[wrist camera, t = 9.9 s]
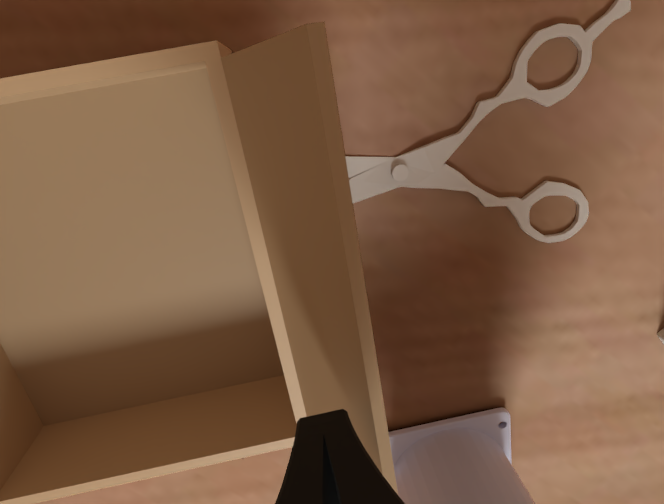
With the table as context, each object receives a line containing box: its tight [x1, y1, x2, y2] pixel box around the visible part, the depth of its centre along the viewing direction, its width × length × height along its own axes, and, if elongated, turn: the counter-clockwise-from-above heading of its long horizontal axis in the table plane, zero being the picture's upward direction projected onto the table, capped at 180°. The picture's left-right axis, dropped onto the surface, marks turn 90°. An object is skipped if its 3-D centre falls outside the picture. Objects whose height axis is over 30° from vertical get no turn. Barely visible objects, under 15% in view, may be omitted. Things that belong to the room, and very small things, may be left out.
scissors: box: [345, 0, 631, 243], centre depth 21 cm, size 11×1×20 cm
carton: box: [0, 40, 307, 504], centre depth 19 cm, size 16×14×5 cm
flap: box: [221, 22, 398, 494], centre depth 14 cm, size 15×6×1 cm
